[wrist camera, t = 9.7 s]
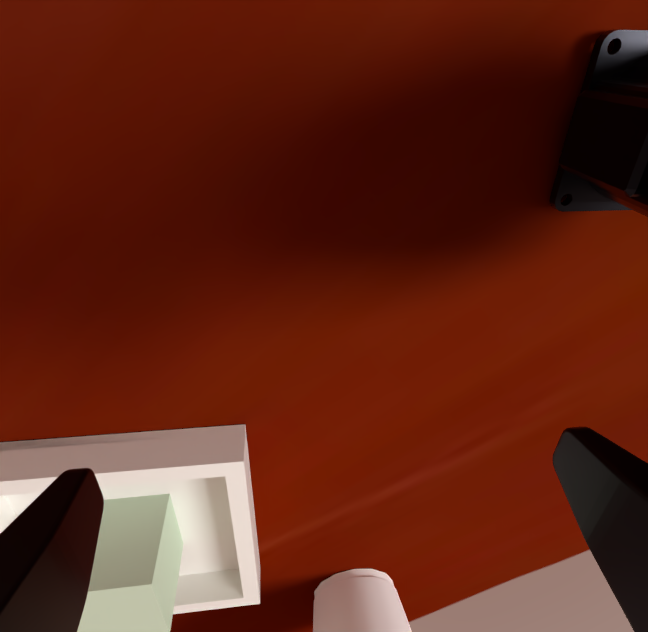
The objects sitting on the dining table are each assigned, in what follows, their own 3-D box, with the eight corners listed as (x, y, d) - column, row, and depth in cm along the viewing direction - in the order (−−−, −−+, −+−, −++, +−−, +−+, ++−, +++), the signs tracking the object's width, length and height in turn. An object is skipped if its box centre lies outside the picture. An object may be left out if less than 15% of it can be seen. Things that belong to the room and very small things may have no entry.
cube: (169, 493, 25) (151, 584, 21) (183, 543, 28) (169, 633, 24) (77, 502, 25) (40, 596, 21) (100, 552, 28) (71, 645, 23)
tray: (245, 424, 24) (243, 461, 22) (260, 565, 31) (260, 603, 29) (-35, 444, 22) (-65, 487, 20) (50, 588, 30) (34, 630, 28)
